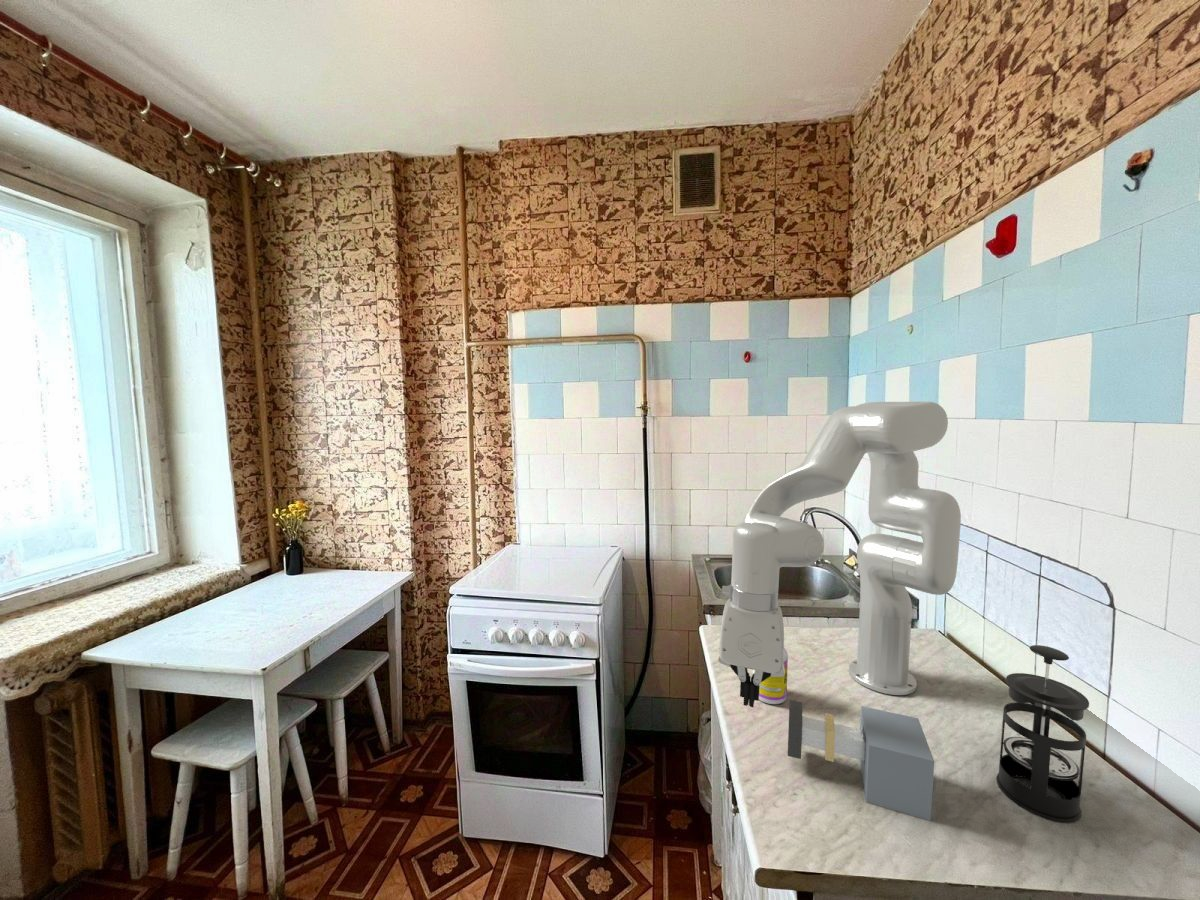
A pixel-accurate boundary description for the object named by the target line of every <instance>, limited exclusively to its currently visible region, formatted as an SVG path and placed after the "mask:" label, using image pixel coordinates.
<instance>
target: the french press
mask: <svg viewBox="0 0 1200 900" xmlns="http://www.w3.org/2000/svg"><path fill="white" fill-rule="evenodd" d="M1029 649H1030V651H1031V652H1032V653H1034V654H1035V655H1038V656H1041V657H1043V663H1045V672H1044V673H1045V674H1044V676H1040V675H1038V674H1034V673H1033V674H1032V673H1023V672H1017V673H1016V672H1015V673H1014V672H1013V673H1010V674H1008V675H1007V676H1006V677H1005V682H1006V683H1005V684H1006V685H1007V686H1008V695H1009V697H1010V698H1011V699H1012V700H1013V701H1014V702H1009V703H1006V704H1005V705H1004V706H1003V711H1002V712H1003V713H1002V723H1001V724H1002V725H1001V737H1000V738H1001V739H1000V748H999V749H1000V751H999V752H1000V753H999V761H998V762H999V763H998V764H999V765H998V773H997V775H996V777H995V779H996V784H997V786H998V788H999V789H1000V791H1001V793H1003V794H1004V796H1006V797H1007V798H1008V799H1009V800H1011V802H1013V803H1015V805H1017V806H1018V807H1020V808H1022V809H1023V810H1025V811H1027V812H1029V813H1032V814H1034V815H1035V816H1037V817H1040V818H1043V819H1046V820H1049V821H1053V822H1057V823H1061V824H1063V823H1064V824H1070V823H1071V824H1072V823H1076V822H1078V821H1079V820H1080V819H1081V817H1082V808H1081V796H1082V786H1083V785H1082V784H1083V775H1084V774H1083V773H1084V764H1085V756H1086V755H1085V752H1086V743H1087V734H1086V731H1085V730H1084V728H1082V726H1080V725H1079V724H1078V723H1076V722H1078V721H1079V722H1080V721H1081V720H1082V719H1084V713H1085V710H1087V709H1089V708H1090V701H1089V699H1088V698H1087V697H1086V696H1085V695H1084V694H1082V692H1080V691H1078V690H1077V689H1075V688H1074V687H1071V686H1070V685H1067V684H1065V683H1063V682H1060V681H1057V680H1054V679H1051V678H1049V676H1050V666H1051V665H1053V661H1063V662H1064V661H1068V660H1069V659H1070V657H1069V655H1068V654H1067V653H1065V652H1063V651H1062V650H1059V649H1057V648H1054V647H1050V646H1048V645H1047V646H1046V645H1041V644H1040V645H1039V644H1032V645H1030V646H1029ZM1033 703H1034V704H1033ZM1052 708H1053V709H1055V710H1057V711H1058V712H1057V711H1055V710H1052ZM1010 712H1025V713H1031V714H1033V719H1032V723H1033V724H1032V730H1031V729H1028V728H1026V727H1024V726H1023V725H1021V724H1020V723H1018V722H1017V721H1016V720H1014V719H1013V718H1012V717H1010V716H1009V715H1008V713H1010ZM1059 712H1061V713H1062V714H1061V713H1059ZM1051 720H1053V721H1055V722H1057V723H1059V724H1061V725H1064V726H1065V727H1067V728H1068V729H1070V730H1071V731H1073V732H1074V733H1076V734H1077V735H1078V736H1079V737H1080V738H1081V739H1080V740H1073V741H1072V740H1070V741H1069V740H1061V739H1057V738H1052V737H1049V735H1050V734H1049V733H1050V723H1051ZM1075 721H1076V722H1075ZM1005 723H1006V725H1007V726H1008V727H1010V728H1011V730H1012V731H1014V732H1016V733H1017V734H1019V735H1020V736H1010V737H1007V738H1005V728H1006V727H1005V726H1006V725H1005ZM1004 738H1005V739H1004ZM1003 751H1004V752H1005V753H1006V754H1004V755H1003ZM1062 751H1065V752H1066V751H1067V752H1068V751H1070V752H1077V751H1081V755H1080V765H1078V764H1077V762H1075V761H1074V759H1072V758H1071V757H1070V756H1069V755H1067V754H1066V753H1064V752H1062ZM1014 777H1017V778H1018V777H1021V778H1026V779H1030V787H1028V786H1027V785H1024V784H1022V783H1021V782H1019V781H1018V780H1016V779H1015V778H1014ZM1077 778H1078V782H1076V781H1075V780H1076V779H1077ZM1048 787H1049V788H1050V789H1052V790H1053V791H1054V792H1056V793H1058V794H1059V795H1060V796H1062V798H1061V797H1060V798H1059V797H1053V796H1051V795H1048Z"/></svg>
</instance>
